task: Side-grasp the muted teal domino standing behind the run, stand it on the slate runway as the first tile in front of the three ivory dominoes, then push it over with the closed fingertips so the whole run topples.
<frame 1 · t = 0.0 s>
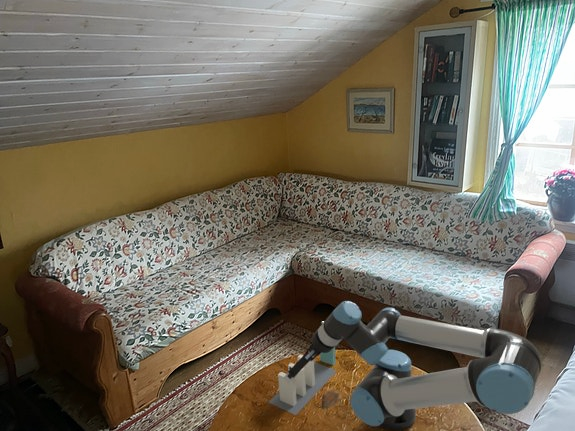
hand: (298, 369, 159), 15 cm above the table, tool tilted 35°, fingers open, 13 cm apart
shard: (332, 404, 164), on the table
slate runway: (304, 388, 172), on the table
ivory domino 3: (288, 401, 164), point 1 cm above the table, touching slate runway
ivory domino 2: (297, 392, 169), point 1 cm above the table, touching slate runway
ivory domino 1: (307, 382, 173), point 1 cm above the table, touching slate runway
teal domino: (328, 363, 185), on the table
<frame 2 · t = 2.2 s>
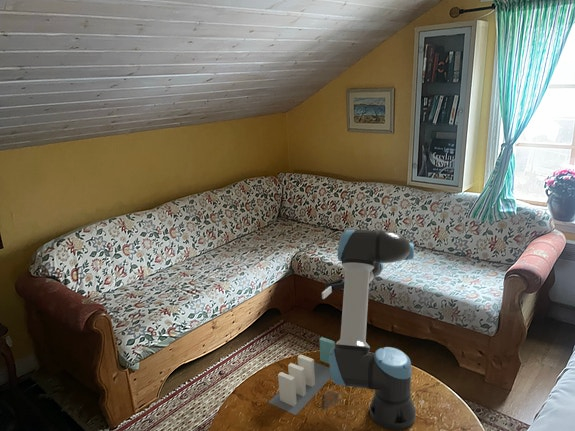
hand: (337, 300, 184), 24 cm above the table, tool horizontal, fingers open, 13 cm apart
nothing on the table moved.
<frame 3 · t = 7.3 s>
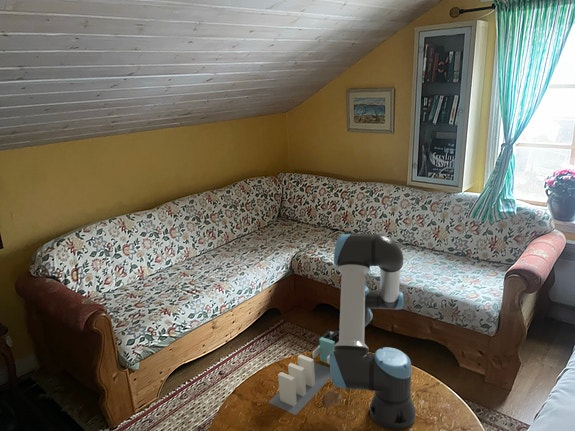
hand: (320, 357, 179), 6 cm above the table, tool horizontal, fingers closed on teal domino, 6 cm apart
teal domino: (327, 363, 185), on the table, touching gripper
everything else where it was.
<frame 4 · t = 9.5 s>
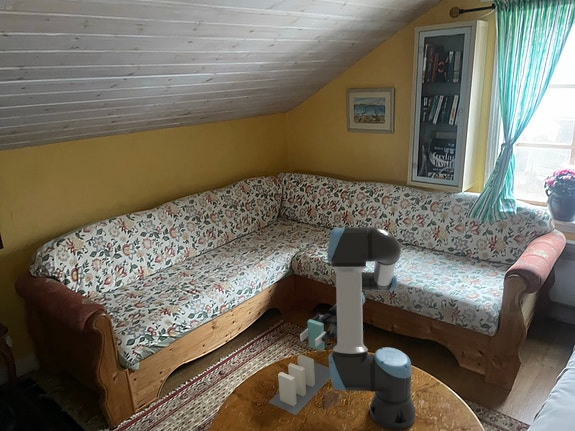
hand: (308, 340, 170), 18 cm above the table, tool horizontal, fingers closed on teal domino, 6 cm apart
teal domino: (316, 347, 176), point 12 cm above the table, touching gripper
everything else where it was.
when the fingers open (8 cm above the table, at t = 11.9 s): teal domino stays where it is, resting on slate runway.
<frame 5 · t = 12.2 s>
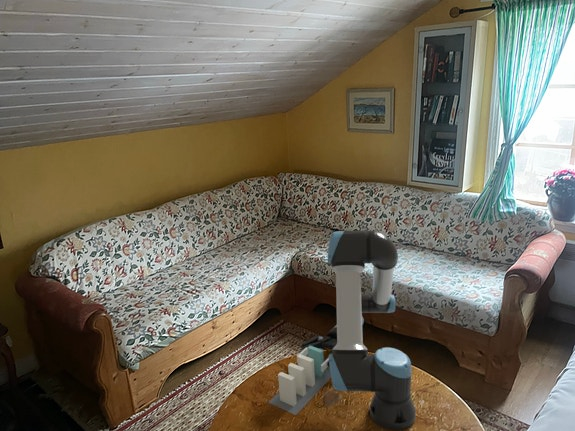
hand: (309, 363, 173), 8 cm above the table, tool horizontal, fingers open, 10 cm apart
teal domino: (316, 373, 178), point 1 cm above the table, touching slate runway
everything else where it was.
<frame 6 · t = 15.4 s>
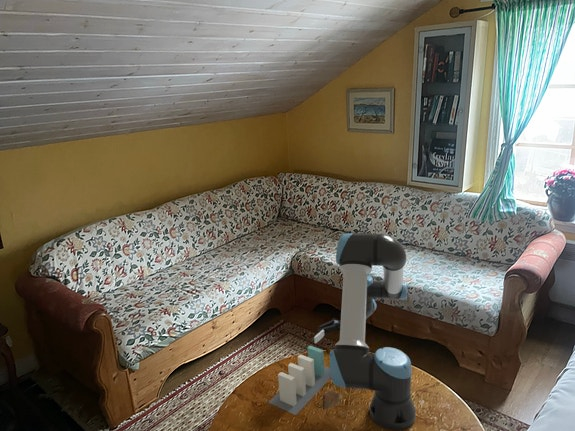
hand: (327, 344, 182), 9 cm above the table, tool horizontal, fingers open, 11 cm apart
nothing on the table moved.
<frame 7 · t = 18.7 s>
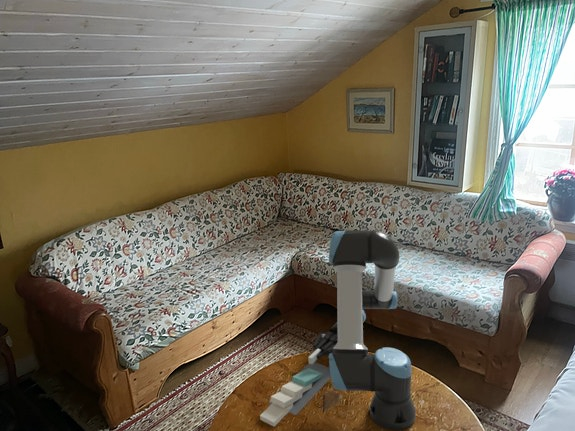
hand: (310, 360, 173), 9 cm above the table, tool horizontal, fingers closed
ivory domino 3: (286, 401, 163), point 2 cm above the table, tilted 90°, touching ivory domino 2, slate runway
ivory domino 2: (295, 392, 167), point 2 cm above the table, tilted 72°, touching ivory domino 1, ivory domino 3
ivory domino 1: (305, 382, 172), point 2 cm above the table, tilted 73°, touching ivory domino 2, slate runway, teal domino
teal domino: (314, 372, 177), point 2 cm above the table, tilted 74°, touching ivory domino 1, slate runway
everything else where it was.
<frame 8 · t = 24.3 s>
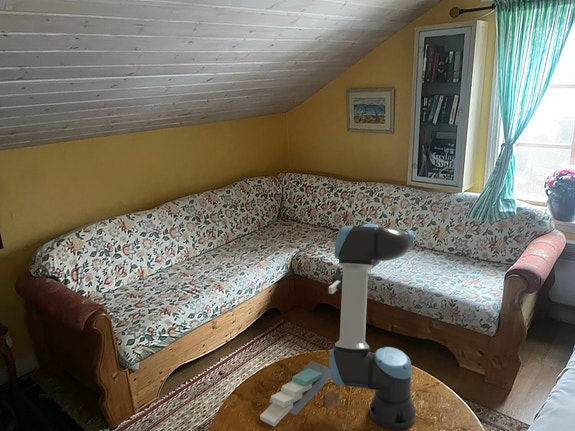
hand: (330, 290, 176), 32 cm above the table, tool horizontal, fingers closed
nothing on the table moved.
at the end: ivory domino 3 tilted 90°; teal domino tilted 74°; teal domino inside the target area (0.5 cm from its centre), point 1.9 cm above the table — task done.
